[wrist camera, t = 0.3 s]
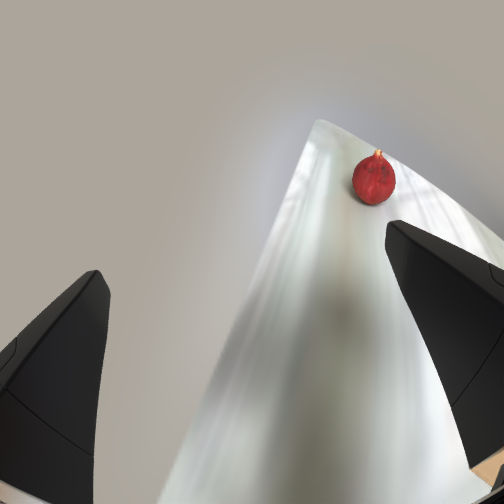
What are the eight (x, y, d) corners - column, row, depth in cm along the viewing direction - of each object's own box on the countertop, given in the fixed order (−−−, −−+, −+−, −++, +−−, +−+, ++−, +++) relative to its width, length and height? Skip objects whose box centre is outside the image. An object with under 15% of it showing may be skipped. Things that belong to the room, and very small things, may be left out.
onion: (395, 216, 39) (408, 161, 33) (355, 216, 39) (365, 159, 33) (381, 193, 43) (390, 143, 38) (344, 192, 43) (351, 140, 38)
